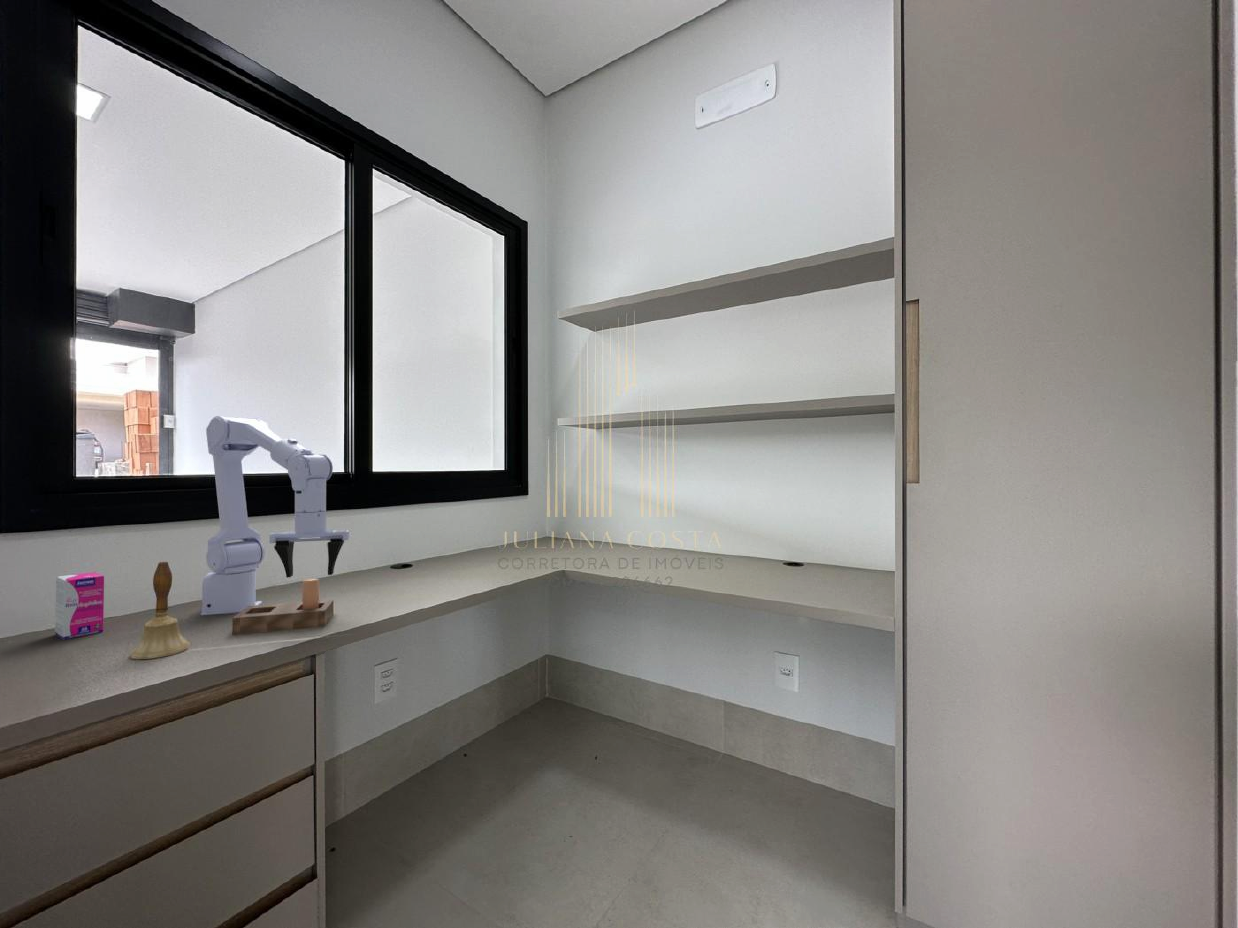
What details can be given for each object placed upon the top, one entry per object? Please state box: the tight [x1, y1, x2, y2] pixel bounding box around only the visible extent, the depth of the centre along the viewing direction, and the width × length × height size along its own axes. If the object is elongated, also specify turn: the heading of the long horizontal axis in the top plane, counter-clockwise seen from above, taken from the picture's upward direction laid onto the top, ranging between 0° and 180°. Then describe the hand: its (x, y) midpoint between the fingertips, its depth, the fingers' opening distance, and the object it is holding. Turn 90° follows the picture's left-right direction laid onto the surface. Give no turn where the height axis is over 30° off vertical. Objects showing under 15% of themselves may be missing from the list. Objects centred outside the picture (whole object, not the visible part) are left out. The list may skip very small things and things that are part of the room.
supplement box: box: [54, 571, 105, 641], centre depth 103 cm, size 6×6×12 cm
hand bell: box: [129, 561, 192, 660], centre depth 93 cm, size 8×8×16 cm
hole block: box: [231, 599, 334, 636], centre depth 108 cm, size 16×9×4 cm, turn 109°
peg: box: [301, 578, 320, 610], centre depth 110 cm, size 3×3×9 cm
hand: (310, 575), depth 111 cm, fingers open, 7 cm apart
